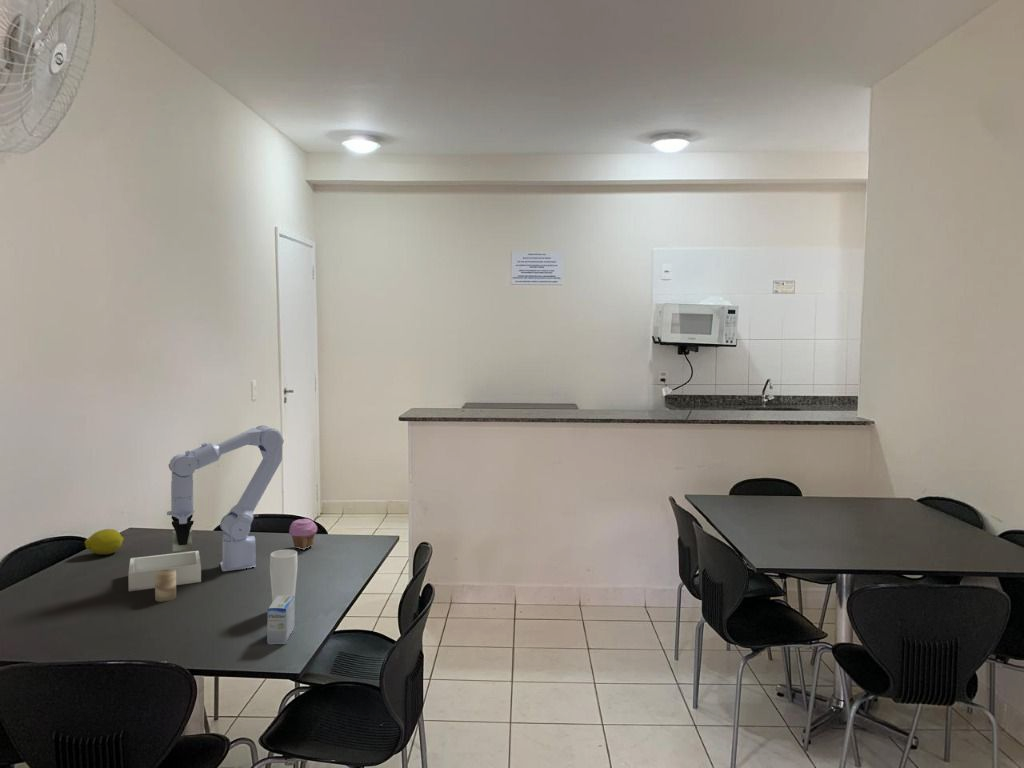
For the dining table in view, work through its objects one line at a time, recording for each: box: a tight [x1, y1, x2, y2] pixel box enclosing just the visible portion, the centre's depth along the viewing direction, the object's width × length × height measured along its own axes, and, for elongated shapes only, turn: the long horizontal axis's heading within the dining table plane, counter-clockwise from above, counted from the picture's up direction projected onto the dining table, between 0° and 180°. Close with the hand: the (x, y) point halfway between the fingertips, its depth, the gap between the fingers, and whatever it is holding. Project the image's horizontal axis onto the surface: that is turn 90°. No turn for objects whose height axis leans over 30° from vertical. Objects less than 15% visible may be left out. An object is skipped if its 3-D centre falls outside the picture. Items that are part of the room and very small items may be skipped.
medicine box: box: [266, 595, 296, 644], centre depth 156 cm, size 8×4×9 cm, turn 5°
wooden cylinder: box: [154, 569, 177, 603], centre depth 178 cm, size 5×5×7 cm
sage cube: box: [172, 528, 193, 552], centre depth 193 cm, size 5×5×5 cm
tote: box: [127, 550, 202, 592], centre depth 192 cm, size 18×14×5 cm
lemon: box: [84, 528, 125, 556], centre depth 211 cm, size 11×8×8 cm
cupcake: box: [288, 518, 318, 548], centre depth 222 cm, size 9×9×10 cm
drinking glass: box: [269, 549, 299, 602], centre depth 171 cm, size 7×7×15 cm
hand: (182, 542), depth 193 cm, fingers closed on sage cube, 5 cm apart
